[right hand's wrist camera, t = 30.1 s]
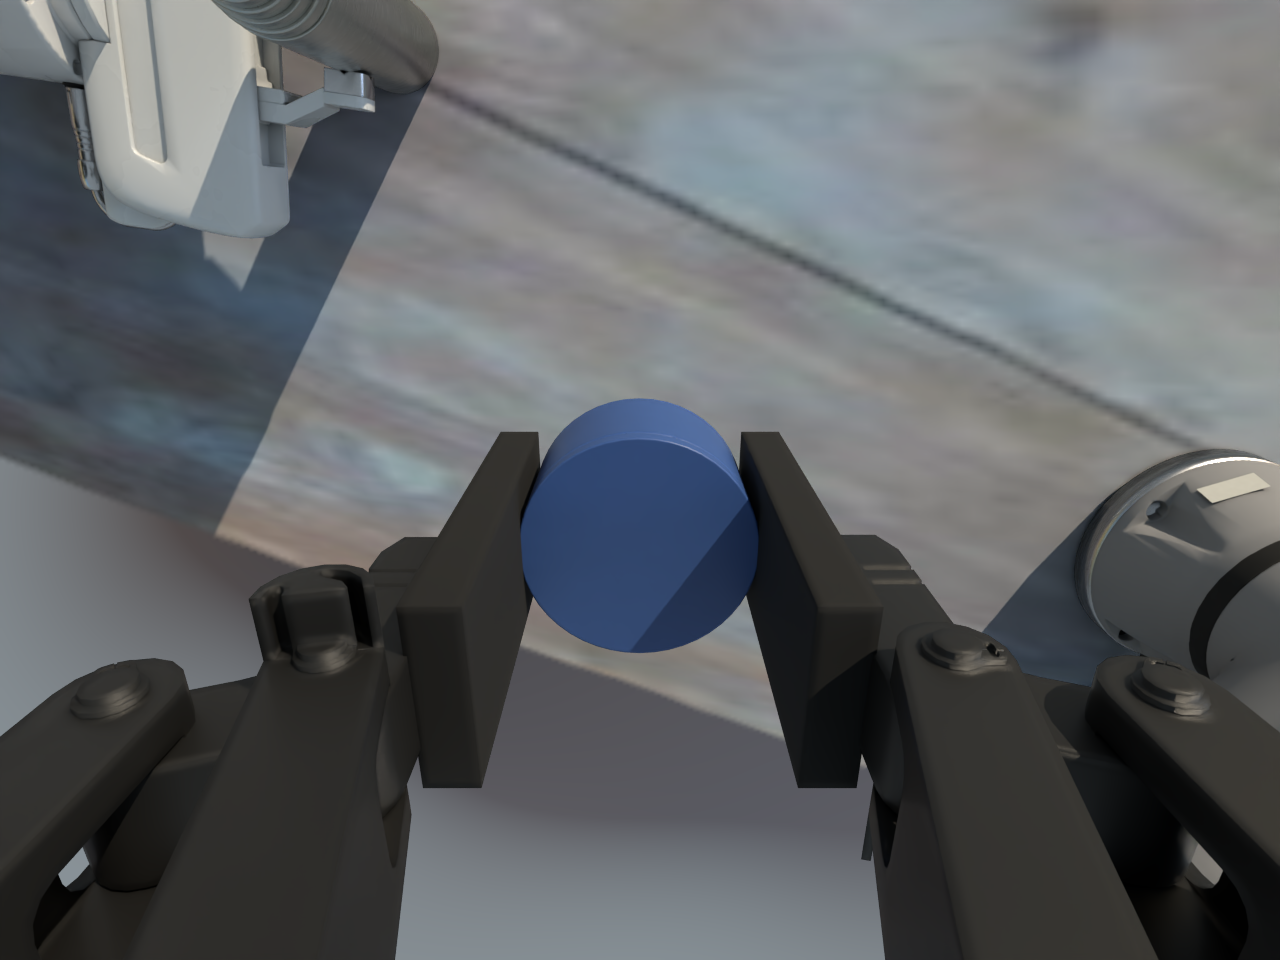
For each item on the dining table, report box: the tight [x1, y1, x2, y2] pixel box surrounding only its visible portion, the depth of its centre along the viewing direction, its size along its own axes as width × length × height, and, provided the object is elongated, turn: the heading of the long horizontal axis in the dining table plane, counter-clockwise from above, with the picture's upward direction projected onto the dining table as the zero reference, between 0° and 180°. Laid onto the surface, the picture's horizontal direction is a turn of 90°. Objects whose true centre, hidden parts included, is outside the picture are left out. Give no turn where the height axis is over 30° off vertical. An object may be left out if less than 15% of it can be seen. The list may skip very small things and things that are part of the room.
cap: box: [520, 399, 759, 653], centre depth 13 cm, size 4×4×2 cm
